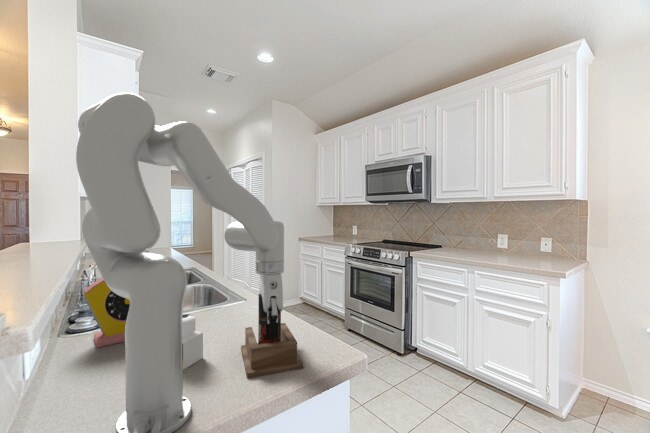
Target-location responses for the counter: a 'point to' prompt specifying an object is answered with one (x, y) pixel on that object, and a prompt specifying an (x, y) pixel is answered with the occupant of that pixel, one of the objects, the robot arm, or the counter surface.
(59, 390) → the counter surface
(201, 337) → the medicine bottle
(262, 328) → the deodorant
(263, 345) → the cradle
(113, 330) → the yellow clock
